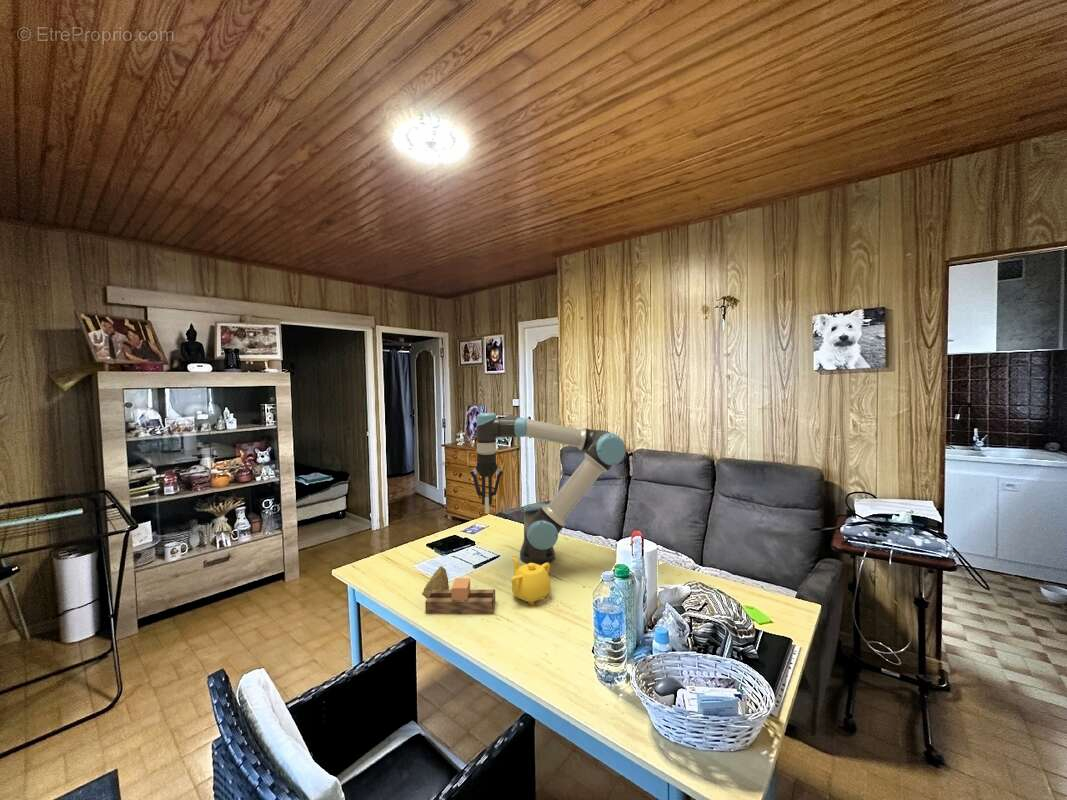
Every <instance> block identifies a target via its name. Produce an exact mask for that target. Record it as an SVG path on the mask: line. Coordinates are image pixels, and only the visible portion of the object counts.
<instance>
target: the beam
mask: <svg viewBox="0 0 1067 800" xmlns="http://www.w3.org/2000/svg"><path fill="white" fill-rule="evenodd" d="M426 597H427V596H426ZM495 604H496V589H495V588H493V589H470V592H469V595H468V599H467V600H452V589H449V590H431V591H430V593H429V595H428V597H427V598H426V599H425V606H424V607H425V614H427V615H435V614H436V615H438V614H439V615H440V614H441V615H445V614H446V615H448V614H449V615H450V614H451V615H453V614H454V615H455V614H456V615H457V614H458V615H461V614H463V615H468V614H469V615H472V614H473V615H479V614H480V615H481V614H483V615H484V614H486V615H487V614H489V615H490V614H493V615H494V610H495V606H496V605H495Z"/></svg>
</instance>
